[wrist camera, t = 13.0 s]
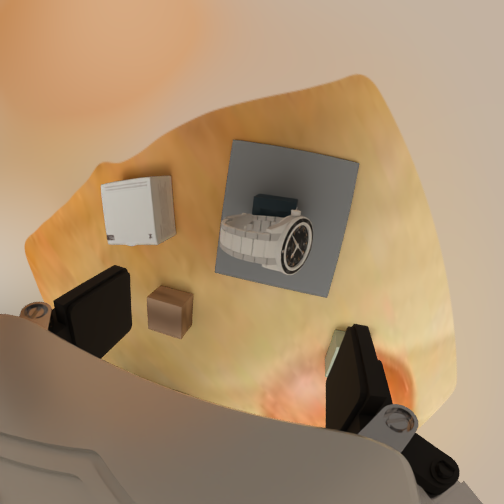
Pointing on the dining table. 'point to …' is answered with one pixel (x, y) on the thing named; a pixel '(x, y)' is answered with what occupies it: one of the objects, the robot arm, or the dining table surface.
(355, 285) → the dining table surface
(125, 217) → the small box
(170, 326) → the walnut block
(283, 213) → the watch
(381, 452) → the robot arm
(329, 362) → the sage block
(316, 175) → the slate mat
